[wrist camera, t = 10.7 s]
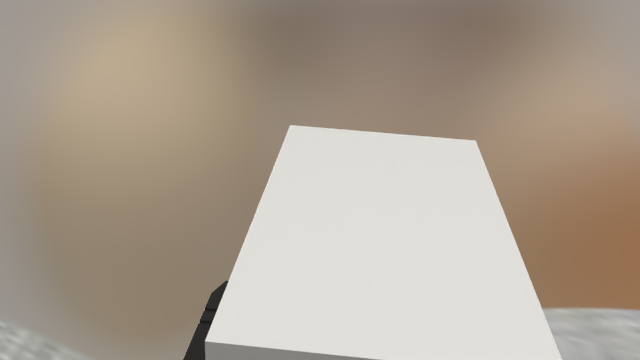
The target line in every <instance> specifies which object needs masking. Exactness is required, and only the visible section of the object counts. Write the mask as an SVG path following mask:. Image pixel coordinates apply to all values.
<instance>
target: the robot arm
mask: <svg viewBox="0 0 640 360" xmlns="http://www.w3.org/2000/svg"><path fill="white" fill-rule="evenodd" d="M227 284H228V281H225V282H224V283H223V284H222V285H221V286H219V287H218V288H217V289H216V290H215V291H214V292H212V294H211V296H210V298H209V300H208V303H207V305H206V307H205V311H204V312H203V315H202V317H201V319H200V324H198V327H197V329H196V331H195V333H194V336H193V338H192V340H191V343H190V345H189V348H188V350H187V352H186V355H185V357H184V359H183V360H205V340H206V337H207V335H208V332H209V330H210V327H211V324H212V322H213V319H214V317H215V314H216V312H217V309H218V307H219V304H220V302H221V299H222V297H223V294H224V292H225V289H226V287H227Z"/></svg>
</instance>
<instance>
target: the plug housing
mask: <svg viewBox="0 0 640 360" xmlns="http://www.w3.org/2000/svg"><path fill="white" fill-rule="evenodd" d="M205 360H562V358H561V356H560V353H559V351H558V348H557V346H556V343H555V341H554V338H553V336H552V333H551V331H550V328H549V326H548V323H547V320H546V318H545V315H544V313H543V310H542V308H541V305H540V303H539V300H538V298H537V295H536V293H535V290H534V288H533V285H532V283H531V280H530V278H529V275H528V272H527V270H526V267H525V265H524V262H523V260H522V257H521V255H520V252H519V250H518V247H517V245H516V242H515V239H514V237H513V234H512V232H511V230H510V227H509V224H508V222H507V219H506V217H505V214H504V212H503V209H502V207H501V204H500V202H499V199H498V197H497V194H496V191H495V189H494V187H493V184H492V181H491V179H490V176H489V174H488V171H487V169H486V166H485V164H484V161H483V158H482V156H481V154H480V151H479V148H478V146H477V143H476V141H473V140H460V139H448V138H437V137H425V136H413V135H401V134H389V133H377V132H364V131H353V130H341V129H329V128H318V127H305V126H293V125H290V127H289V130H288V132H287V135H286V137H285V140H284V142H283V145H282V147H281V150H280V152H279V155H278V157H277V160H276V163H275V165H274V168H273V170H272V173H271V175H270V178H269V180H268V183H267V185H266V188H265V190H264V193H263V196H262V198H261V201H260V203H259V206H258V208H257V211H256V213H255V216H254V219H253V221H252V223H251V226H250V228H249V231H248V234H247V236H246V239H245V241H244V244H243V246H242V249H241V251H240V254H239V256H238V259H237V261H236V264H235V266H234V269H233V271H232V274H231V276H230V279H229V281H228V284H227V287H226V289H225V292H224V294H223V297H222V299H221V302H220V304H219V307H218V309H217V312H216V314H215V317H214V319H213V322H212V324H211V327H210V330H209V332H208V335H207V337H206V340H205Z"/></svg>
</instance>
